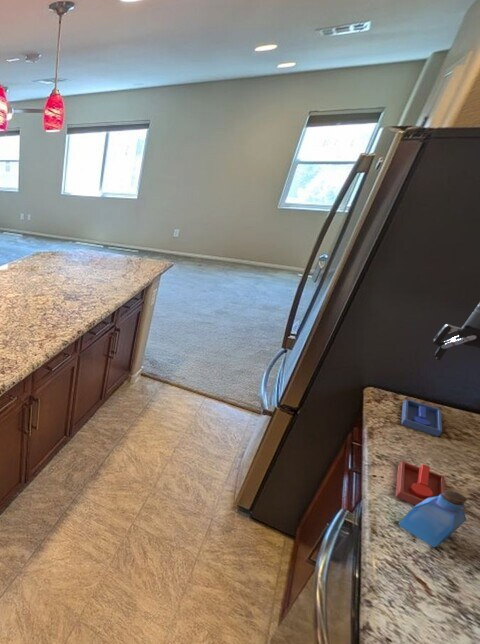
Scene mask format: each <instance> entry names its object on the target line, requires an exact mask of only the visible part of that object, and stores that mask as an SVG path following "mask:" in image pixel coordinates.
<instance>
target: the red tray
mask: <svg viewBox="0 0 480 644" xmlns="http://www.w3.org/2000/svg"><path fill="white" fill-rule="evenodd" d="M420 467H421V466H418V465H415V464H412V463H409V462H406V461H404V460H401V461H400V462H399V464H398V465H397V474H396V487H395V498H397V499H399V500H402V501H404V502H407V503H409V504H411V505H414V506H416V505H418V504H419V503H421V502H422V501H424V500H425V499H424V498H420V497H418V496H416V495H414V494H413V493H412V492H411V491H410V487H411V486H412V485H413V484H415V483H417V481H418V474H419V468H420ZM445 478H446V477H445V475H442V474H439V473H436V472H434V471H431V470H429V478H428V485H427V487H428V488H430V489H431V490H432V492H433V495H432V496H431V497H436V496H439V495H440V494H441V493H444V492H445V490H446V479H445Z"/></svg>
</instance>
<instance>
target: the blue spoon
mask: <svg viewBox="0 0 480 644" xmlns="http://www.w3.org/2000/svg"><path fill="white" fill-rule="evenodd" d="M412 421H414V422H417V423H420V424H423V425H426V426H430V424H431V423H430V421H428V420H426V407H423V406H419V408H418V409H417V417H414V418H413V420H412Z"/></svg>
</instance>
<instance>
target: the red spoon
mask: <svg viewBox="0 0 480 644" xmlns="http://www.w3.org/2000/svg"><path fill="white" fill-rule="evenodd" d="M419 467H420V468H419V474H418V481H417V483H415V484H413V485H412V486H411V487H410V491H411V492H412V493H413V494H414V495H416V496H418V497H420V498H424V499H427V498H430V497H431V496H432V495H433V492H432V490H431V489H430V488H428V487H427V485H428V478H429V471H430V468H431V467H430V466H429V465H427V464H424V463H422V464H421V465H420V466H419Z"/></svg>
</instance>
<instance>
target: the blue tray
mask: <svg viewBox="0 0 480 644" xmlns="http://www.w3.org/2000/svg"><path fill="white" fill-rule="evenodd" d="M419 406H423V407H426V420H428V421H430V423H431V424H430V426H426V425H423V424H420V423H417V422H414V421H412V420H413V418H414V417H417V409H418V408H419ZM401 410H402V411H401V420H400V421H401V424H400V425H402V426H405V427H408V428H411V429H414V430H417V431H420V432H422V433H425V434H429V435H432V436H435V437H439V436H440V435H441V434H442V433H443V423H442V421H443V420H442V409H441V408H438V407H435V406H431V405H428V404H425V403H421V402H417V401H414V400H411V399H407V398H406V399H404V401H403V402H402V407H401Z"/></svg>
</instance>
